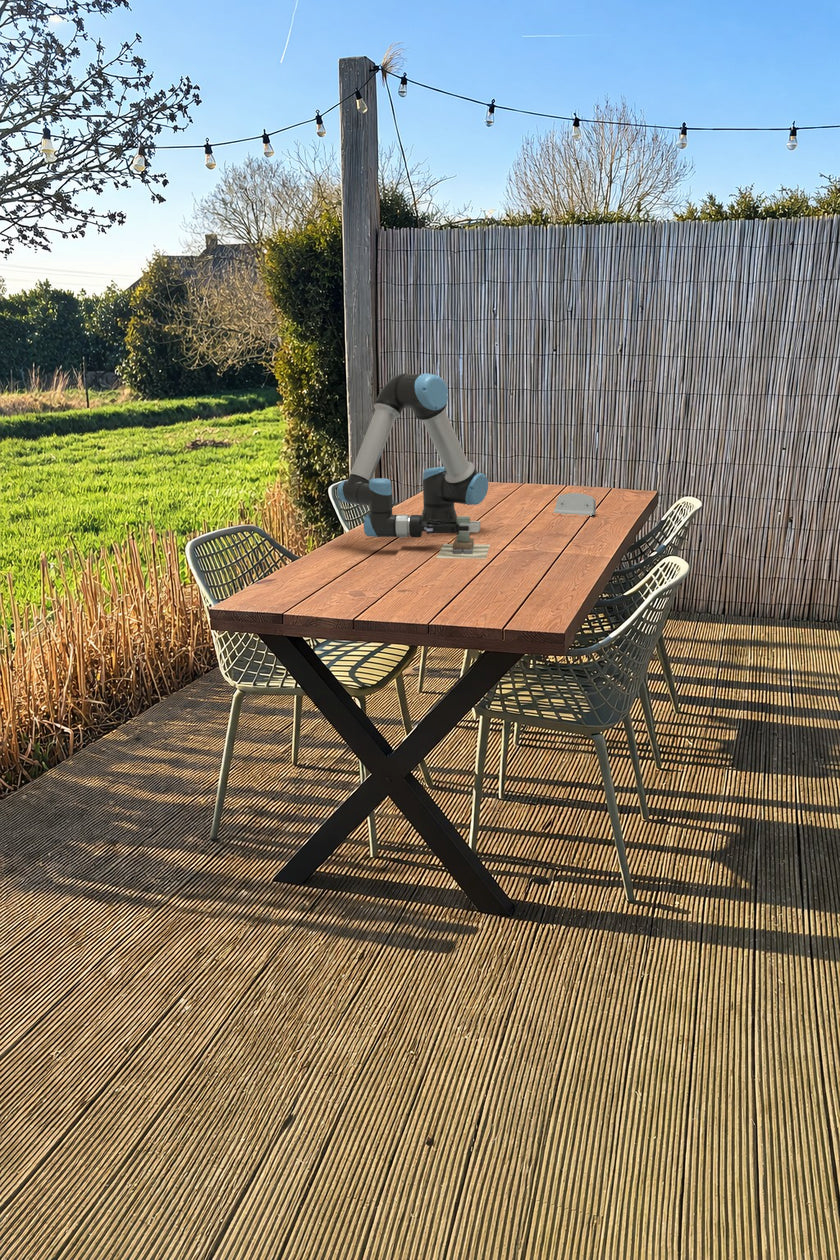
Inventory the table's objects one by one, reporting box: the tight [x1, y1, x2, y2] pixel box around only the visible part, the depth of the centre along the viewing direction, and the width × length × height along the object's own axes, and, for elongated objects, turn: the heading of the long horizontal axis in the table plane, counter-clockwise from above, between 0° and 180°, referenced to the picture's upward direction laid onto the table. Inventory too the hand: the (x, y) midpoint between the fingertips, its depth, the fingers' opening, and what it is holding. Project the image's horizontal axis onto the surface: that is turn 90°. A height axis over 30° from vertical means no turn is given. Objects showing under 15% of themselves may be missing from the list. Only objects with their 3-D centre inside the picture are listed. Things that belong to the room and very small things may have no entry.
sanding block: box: [452, 515, 475, 550], centre depth 326 cm, size 10×6×11 cm, turn 172°
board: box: [435, 543, 491, 560], centre depth 324 cm, size 22×16×2 cm
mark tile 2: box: [463, 549, 473, 554], centre depth 321 cm, size 3×3×1 cm
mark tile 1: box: [453, 549, 463, 554], centre depth 321 cm, size 3×3×1 cm
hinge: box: [553, 492, 597, 517], centre depth 392 cm, size 17×5×10 cm, turn 64°
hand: (479, 526), depth 325 cm, fingers closed on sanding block, 4 cm apart
